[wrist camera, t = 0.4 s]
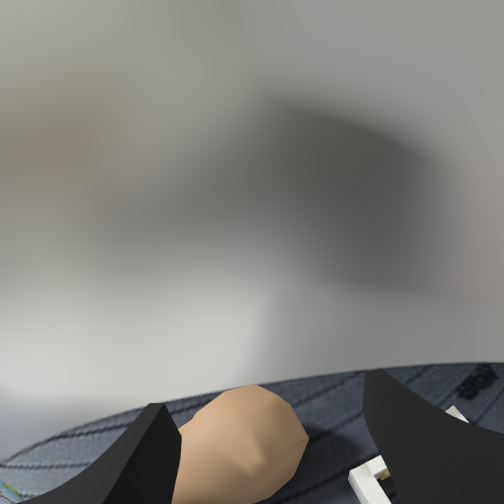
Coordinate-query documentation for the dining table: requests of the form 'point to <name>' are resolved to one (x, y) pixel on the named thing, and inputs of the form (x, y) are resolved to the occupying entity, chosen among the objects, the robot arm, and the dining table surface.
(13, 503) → the snack box
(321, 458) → the dining table surface
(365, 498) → the cabinet frame
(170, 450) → the robot arm
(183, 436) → the squash
